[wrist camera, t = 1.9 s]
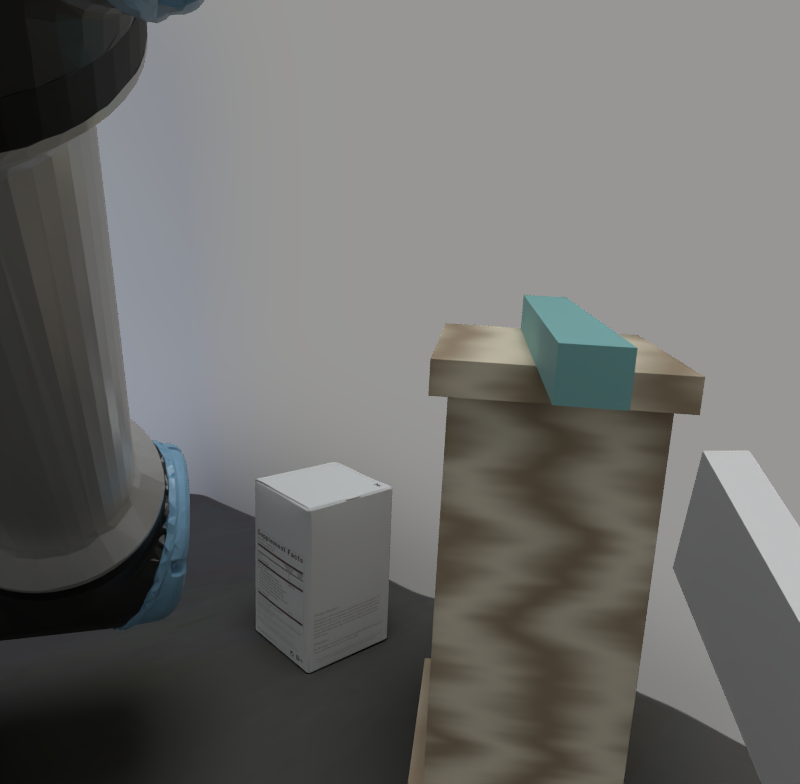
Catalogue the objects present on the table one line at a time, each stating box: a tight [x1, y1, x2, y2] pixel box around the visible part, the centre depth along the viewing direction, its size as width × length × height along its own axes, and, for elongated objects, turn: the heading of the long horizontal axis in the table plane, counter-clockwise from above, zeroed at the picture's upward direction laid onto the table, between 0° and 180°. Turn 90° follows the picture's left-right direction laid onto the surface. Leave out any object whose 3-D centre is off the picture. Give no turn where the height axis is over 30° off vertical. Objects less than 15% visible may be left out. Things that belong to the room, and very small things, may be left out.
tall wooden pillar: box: [408, 324, 705, 784], centre depth 48 cm, size 14×16×30 cm
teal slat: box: [521, 295, 638, 411], centre depth 39 cm, size 3×24×2 cm, turn 174°
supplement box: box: [255, 462, 392, 673], centre depth 64 cm, size 9×9×15 cm
